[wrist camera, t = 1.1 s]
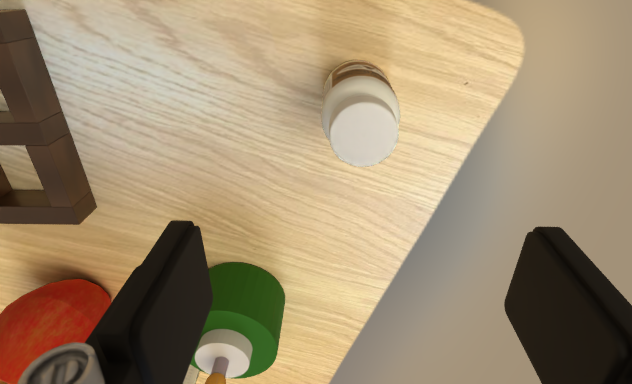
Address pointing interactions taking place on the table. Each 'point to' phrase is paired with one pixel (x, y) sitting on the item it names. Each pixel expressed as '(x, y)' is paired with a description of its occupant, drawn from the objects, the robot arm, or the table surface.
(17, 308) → the apple
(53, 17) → the table surface
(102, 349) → the robot arm
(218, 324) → the candle
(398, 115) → the pill bottle
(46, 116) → the holder
